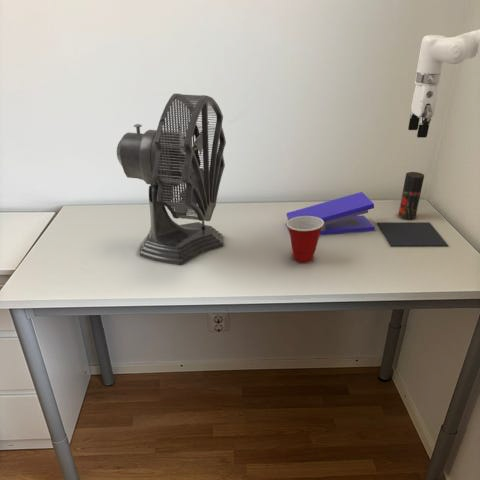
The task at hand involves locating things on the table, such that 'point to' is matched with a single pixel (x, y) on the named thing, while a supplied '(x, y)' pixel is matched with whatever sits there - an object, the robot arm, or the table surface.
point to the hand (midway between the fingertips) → (417, 133)
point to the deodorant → (411, 195)
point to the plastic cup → (304, 236)
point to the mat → (411, 234)
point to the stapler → (340, 214)
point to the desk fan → (178, 178)
